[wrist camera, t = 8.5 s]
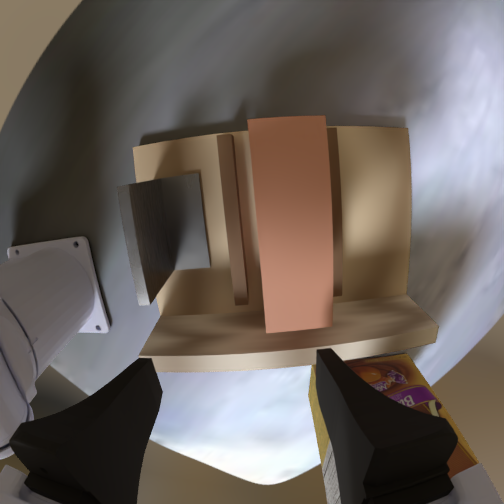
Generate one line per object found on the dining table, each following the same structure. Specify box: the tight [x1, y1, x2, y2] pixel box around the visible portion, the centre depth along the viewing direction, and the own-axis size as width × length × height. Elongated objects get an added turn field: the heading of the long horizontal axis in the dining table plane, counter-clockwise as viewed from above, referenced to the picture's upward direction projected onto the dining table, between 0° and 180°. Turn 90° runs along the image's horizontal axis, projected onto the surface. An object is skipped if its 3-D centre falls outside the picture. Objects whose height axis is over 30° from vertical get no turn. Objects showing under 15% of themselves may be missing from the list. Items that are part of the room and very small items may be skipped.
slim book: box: [247, 115, 333, 333], centre depth 15 cm, size 3×9×7 cm, turn 5°
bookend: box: [117, 173, 211, 305], centre depth 16 cm, size 3×6×6 cm, turn 5°
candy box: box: [308, 354, 479, 504], centre depth 16 cm, size 9×4×15 cm, turn 90°
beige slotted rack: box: [133, 126, 439, 372], centre depth 17 cm, size 18×13×6 cm
